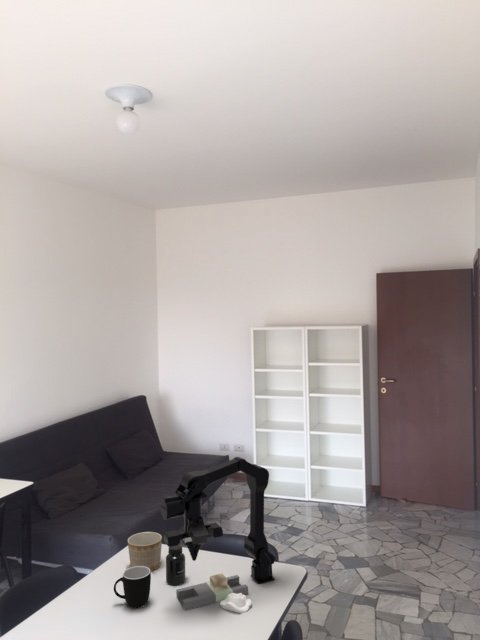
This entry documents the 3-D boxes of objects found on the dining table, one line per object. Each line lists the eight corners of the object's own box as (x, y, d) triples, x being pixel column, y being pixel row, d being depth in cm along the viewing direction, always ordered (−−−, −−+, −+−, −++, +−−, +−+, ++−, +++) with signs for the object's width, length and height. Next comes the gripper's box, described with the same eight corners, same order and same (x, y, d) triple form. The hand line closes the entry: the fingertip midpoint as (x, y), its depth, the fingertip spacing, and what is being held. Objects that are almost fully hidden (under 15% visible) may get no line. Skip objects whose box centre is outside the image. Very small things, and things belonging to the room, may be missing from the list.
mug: (152, 595, 177) (151, 565, 177) (150, 610, 168) (149, 578, 168) (116, 597, 176) (115, 567, 176) (111, 612, 167) (110, 580, 167)
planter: (159, 574, 192) (158, 545, 192) (124, 574, 192) (124, 546, 192) (165, 558, 204) (164, 531, 204) (132, 559, 205) (131, 532, 205)
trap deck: (237, 582, 184) (237, 574, 184) (248, 594, 176) (247, 586, 176) (176, 597, 176) (176, 589, 176) (184, 610, 167) (184, 602, 167)
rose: (222, 602, 163) (217, 587, 173) (222, 617, 164) (218, 600, 173) (253, 598, 165) (247, 583, 175) (254, 613, 165) (248, 597, 175)
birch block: (222, 582, 180) (222, 573, 180) (227, 588, 176) (227, 579, 176) (210, 585, 178) (209, 576, 178) (214, 591, 174) (214, 582, 174)
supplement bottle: (182, 586, 182) (181, 551, 182) (163, 585, 184) (162, 550, 184) (188, 577, 189) (187, 543, 189) (170, 575, 190) (169, 542, 190)
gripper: (172, 526, 162) (173, 577, 162) (228, 515, 170) (229, 564, 170) (162, 514, 172) (163, 562, 172) (216, 505, 180) (217, 550, 180)
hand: (194, 560), depth 173 cm, fingers closed
